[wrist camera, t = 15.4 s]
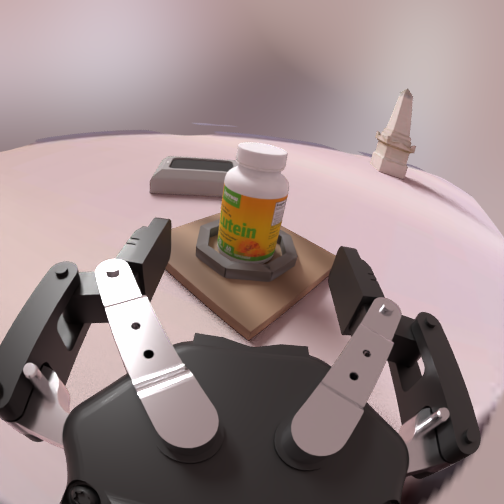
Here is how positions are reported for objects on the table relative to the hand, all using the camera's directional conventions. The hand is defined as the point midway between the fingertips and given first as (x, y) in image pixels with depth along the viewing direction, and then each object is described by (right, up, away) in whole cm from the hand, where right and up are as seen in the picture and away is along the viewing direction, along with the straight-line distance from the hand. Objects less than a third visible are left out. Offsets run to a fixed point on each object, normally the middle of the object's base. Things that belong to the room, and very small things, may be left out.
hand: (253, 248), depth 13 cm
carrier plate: (-1, -1, +14) cm, 14 cm away
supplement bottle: (-1, 0, +13) cm, 13 cm away
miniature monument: (+44, +26, +68) cm, 85 cm away
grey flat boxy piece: (-8, +10, +29) cm, 32 cm away
